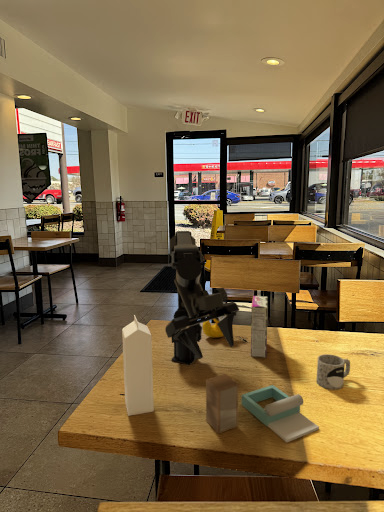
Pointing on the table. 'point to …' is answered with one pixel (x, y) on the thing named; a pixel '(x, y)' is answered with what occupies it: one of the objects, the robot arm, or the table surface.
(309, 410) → the table surface
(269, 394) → the teal rectangular frame
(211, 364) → the table surface
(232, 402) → the brown block
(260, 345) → the candy bar box
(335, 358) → the mug
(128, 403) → the milk
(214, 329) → the duckling
